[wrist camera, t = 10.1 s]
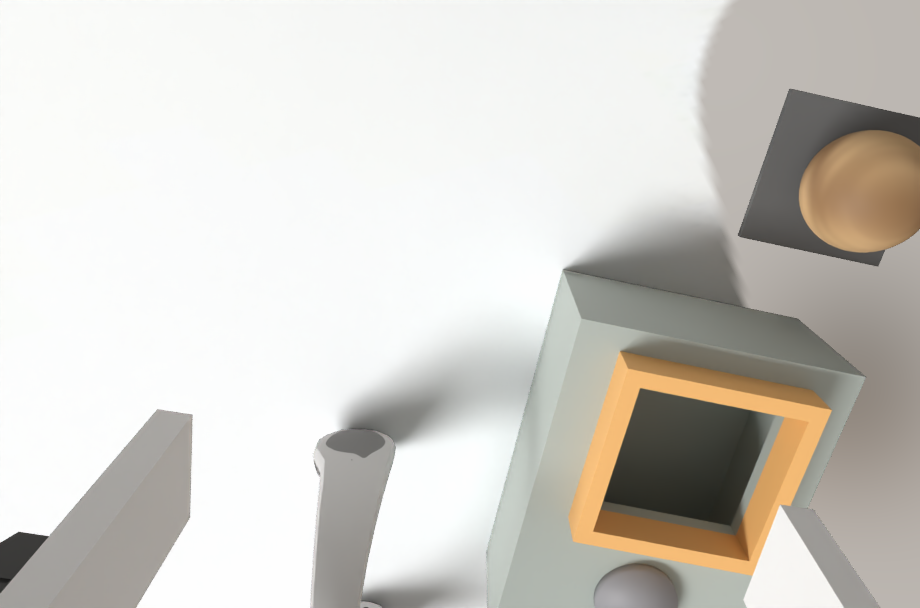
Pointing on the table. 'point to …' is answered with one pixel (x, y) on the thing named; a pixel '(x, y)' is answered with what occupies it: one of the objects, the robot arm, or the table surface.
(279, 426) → the table surface
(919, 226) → the bead
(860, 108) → the mat
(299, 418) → the table surface
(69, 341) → the table surface
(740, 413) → the grey boxy piece
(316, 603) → the headphones
